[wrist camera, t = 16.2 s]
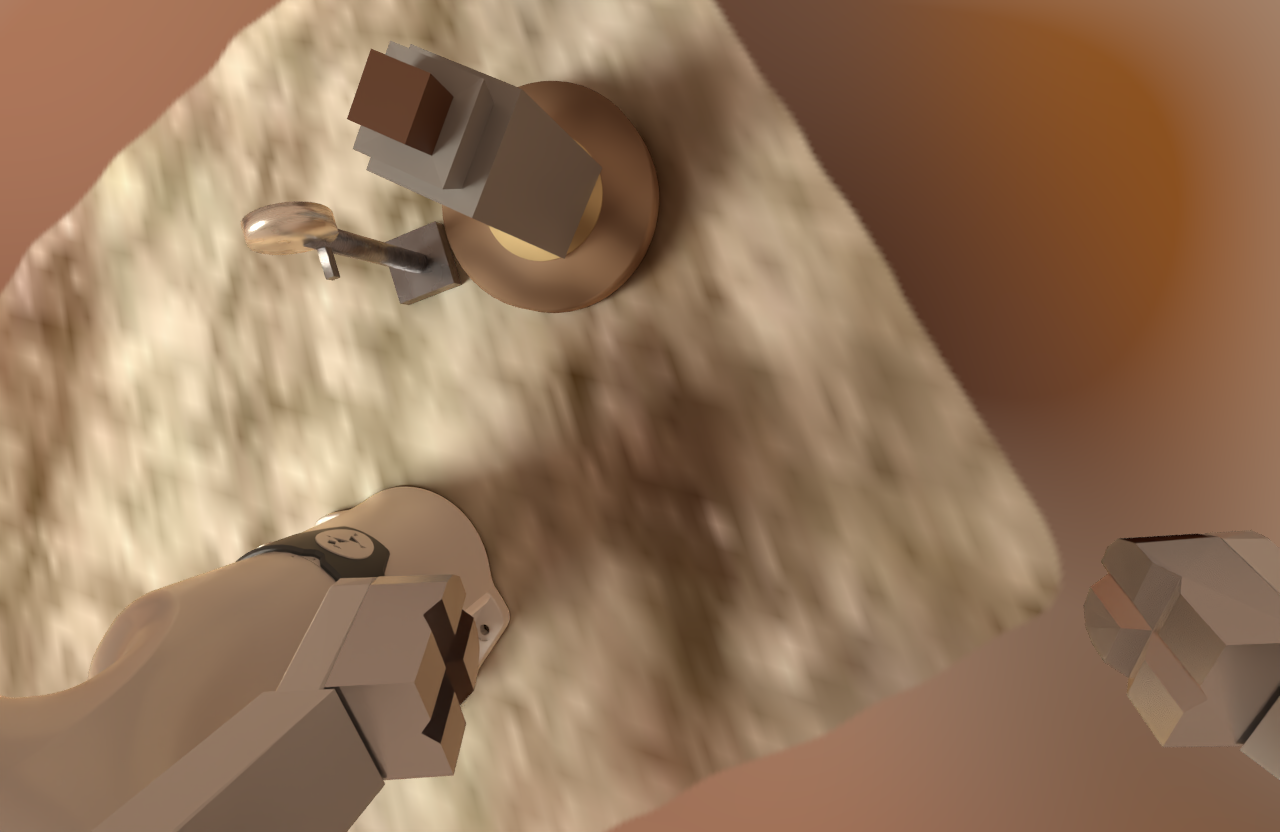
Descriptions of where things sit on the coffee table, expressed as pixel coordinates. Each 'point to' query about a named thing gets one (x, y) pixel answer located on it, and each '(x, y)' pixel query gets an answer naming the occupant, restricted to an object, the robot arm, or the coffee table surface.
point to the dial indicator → (355, 247)
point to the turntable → (606, 229)
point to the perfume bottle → (472, 145)
